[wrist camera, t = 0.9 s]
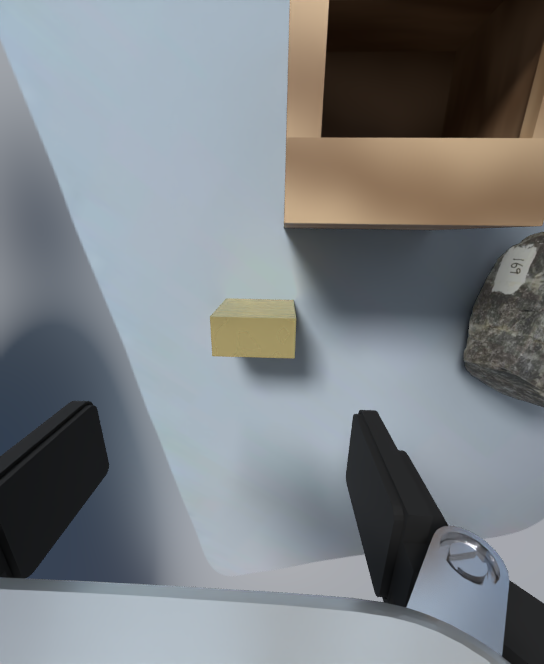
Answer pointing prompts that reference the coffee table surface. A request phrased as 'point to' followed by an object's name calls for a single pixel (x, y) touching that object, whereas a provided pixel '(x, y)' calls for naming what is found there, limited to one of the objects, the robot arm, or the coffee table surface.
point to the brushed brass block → (254, 328)
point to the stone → (511, 324)
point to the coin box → (415, 114)
